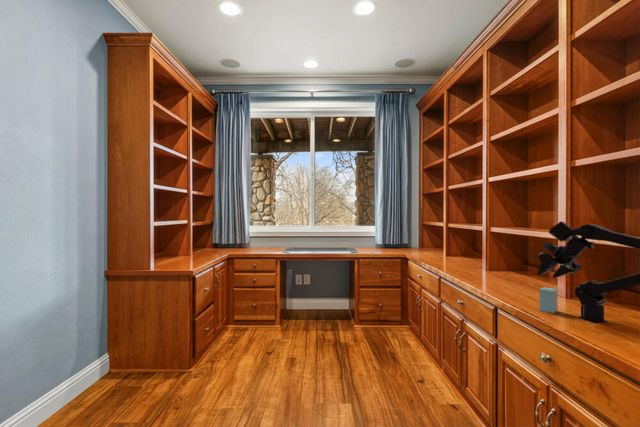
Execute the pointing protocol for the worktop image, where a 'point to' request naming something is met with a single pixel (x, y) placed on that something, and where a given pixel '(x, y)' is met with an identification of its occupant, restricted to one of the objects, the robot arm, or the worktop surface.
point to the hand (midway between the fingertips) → (545, 276)
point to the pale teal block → (548, 300)
